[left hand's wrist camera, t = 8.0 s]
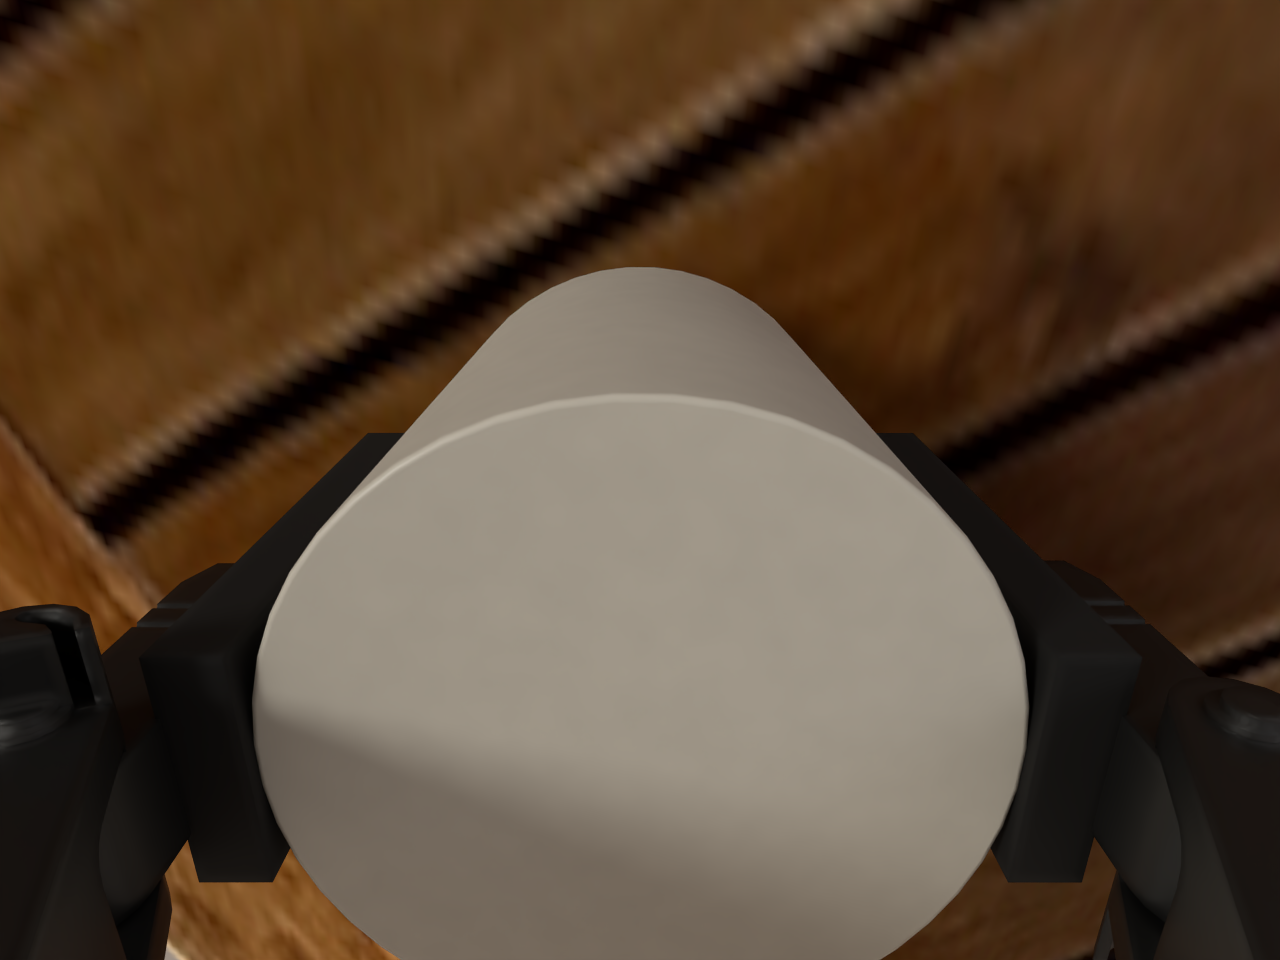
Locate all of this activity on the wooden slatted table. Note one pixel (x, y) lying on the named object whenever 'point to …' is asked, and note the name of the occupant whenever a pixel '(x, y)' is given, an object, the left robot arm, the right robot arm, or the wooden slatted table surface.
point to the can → (640, 657)
